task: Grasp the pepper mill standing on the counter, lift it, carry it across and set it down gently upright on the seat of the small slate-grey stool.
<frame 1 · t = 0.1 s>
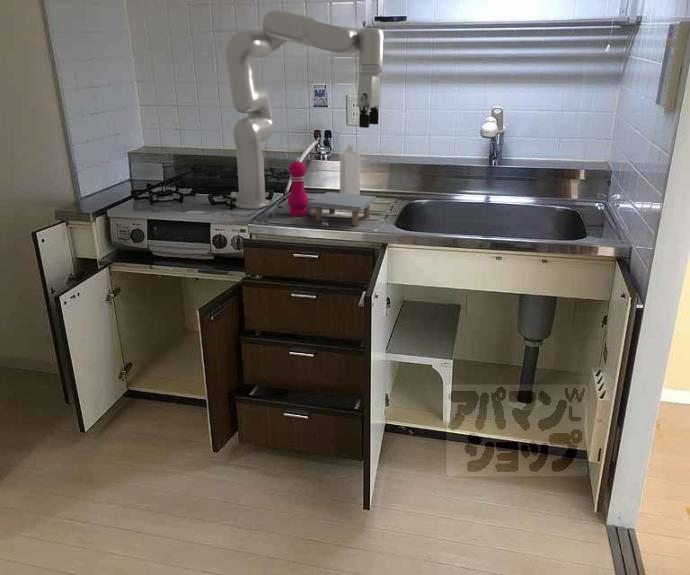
hand: (368, 125, 198), 31 cm above the table, tool pointing down, fingers open, 9 cm apart
pepper mill: (298, 214, 213), on the table
milk: (349, 205, 227), on the table
stool: (343, 219, 208), on the table
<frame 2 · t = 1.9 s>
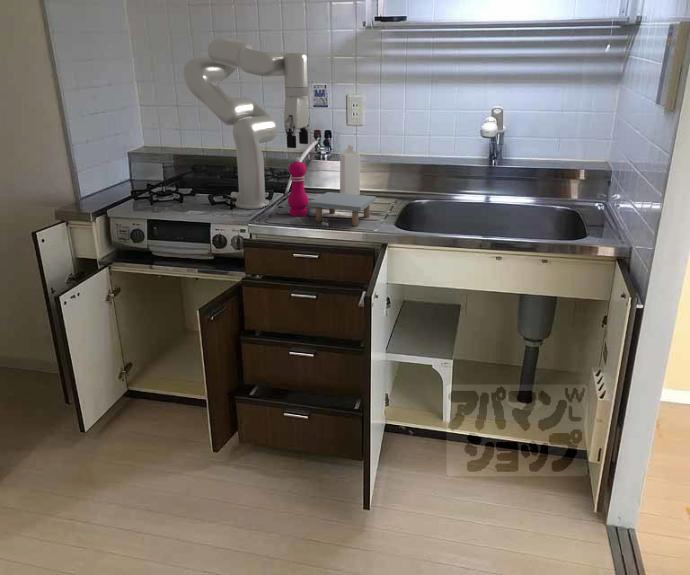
hand: (297, 145, 204), 24 cm above the table, tool pointing down, fingers open, 9 cm apart
nothing on the table moved.
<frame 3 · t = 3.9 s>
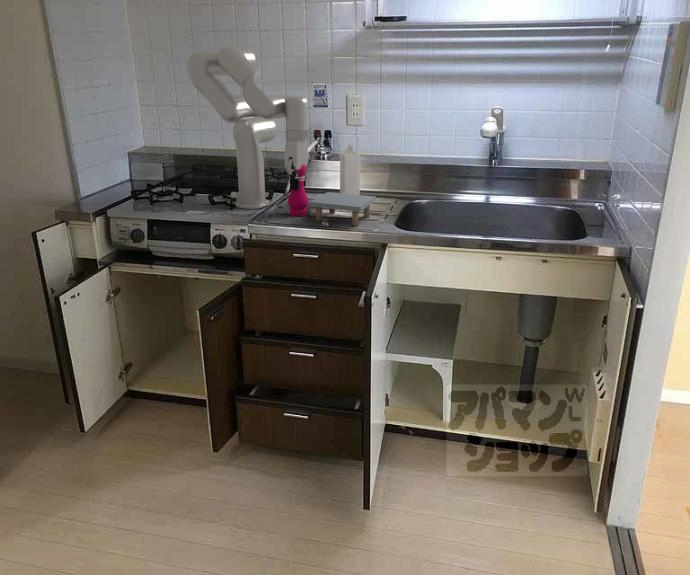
hand: (297, 187, 209), 9 cm above the table, tool pointing down, fingers closed on pepper mill, 5 cm apart
pepper mill: (298, 214, 213), on the table, touching gripper
everything else where it was.
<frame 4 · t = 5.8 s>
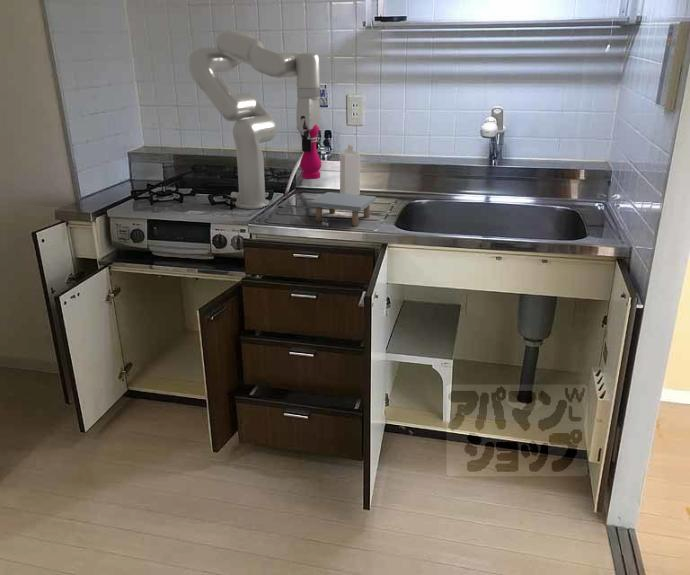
hand: (310, 149, 203), 23 cm above the table, tool pointing down, fingers closed on pepper mill, 5 cm apart
pepper mill: (311, 178, 206), point 13 cm above the table, touching gripper
everything else where it was.
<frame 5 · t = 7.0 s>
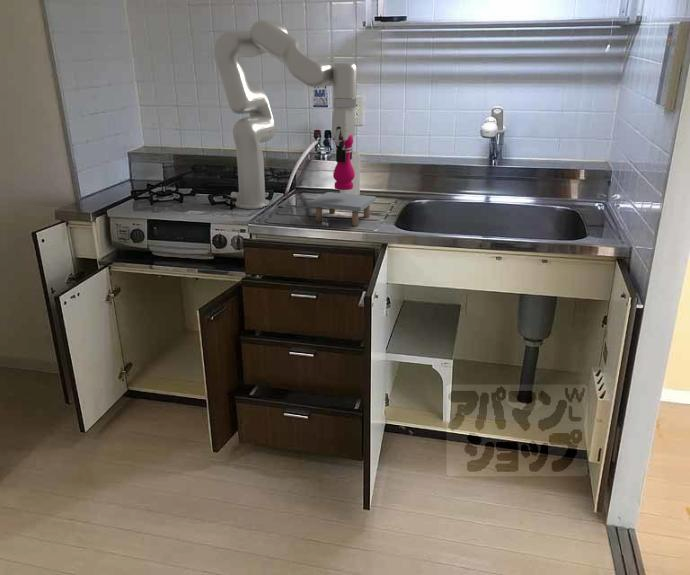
hand: (344, 160, 200), 20 cm above the table, tool pointing down, fingers closed on pepper mill, 5 cm apart
pepper mill: (343, 188, 204), point 11 cm above the table, touching gripper
everything else where it was.
when the fingers open (17 cm above the table, at t = 7.8 s): pepper mill stays where it is, resting on stool.
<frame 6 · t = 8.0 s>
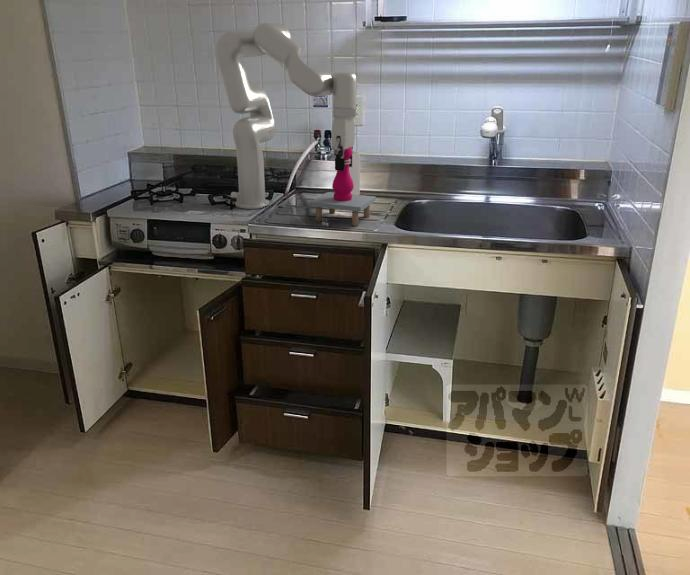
hand: (343, 168, 201), 18 cm above the table, tool pointing down, fingers open, 6 cm apart
pepper mill: (342, 199, 205), point 7 cm above the table, touching stool
everything else where it was.
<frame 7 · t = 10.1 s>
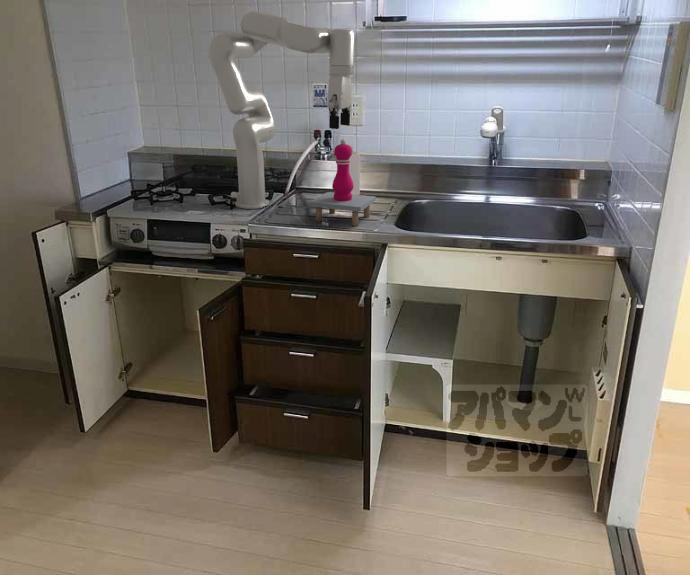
hand: (339, 126, 197), 31 cm above the table, tool pointing down, fingers open, 9 cm apart
nothing on the table moved.
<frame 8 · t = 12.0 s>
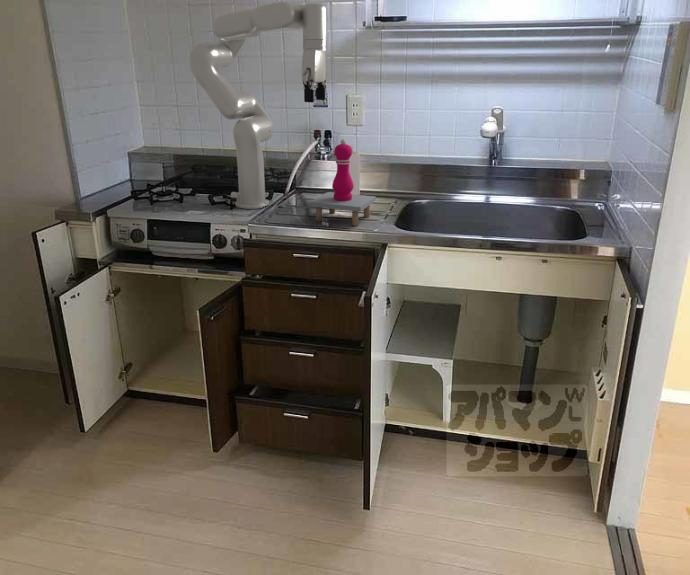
hand: (314, 101, 201), 38 cm above the table, tool pointing down, fingers open, 9 cm apart
nothing on the table moved.
at the end: pepper mill inside the target area on the stool (0.2 cm from its centre), point 6.8 cm above the stool's base; pepper mill tilted 0°; the gripper is holding nothing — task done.
